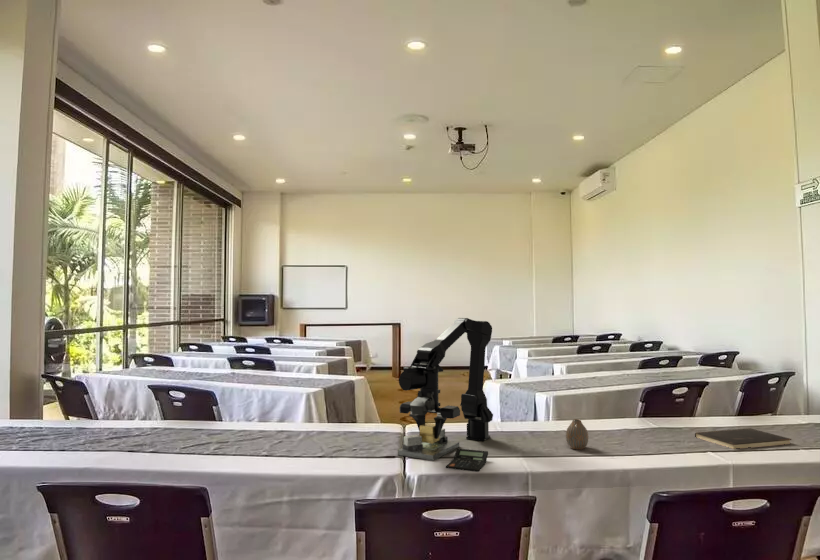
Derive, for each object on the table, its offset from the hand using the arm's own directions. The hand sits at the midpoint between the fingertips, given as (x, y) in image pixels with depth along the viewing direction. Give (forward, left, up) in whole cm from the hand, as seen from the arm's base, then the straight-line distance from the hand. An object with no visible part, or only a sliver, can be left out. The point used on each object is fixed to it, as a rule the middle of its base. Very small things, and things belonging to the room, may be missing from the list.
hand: (429, 437), depth 171 cm
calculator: (-16, +7, -5) cm, 18 cm away
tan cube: (0, 0, -1) cm, 1 cm away
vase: (-39, -26, -4) cm, 47 cm away
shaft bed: (0, 0, -4) cm, 4 cm away
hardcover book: (-84, -62, -5) cm, 105 cm away
